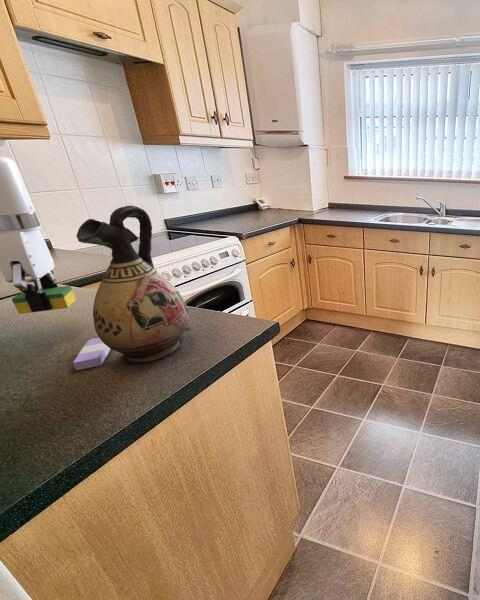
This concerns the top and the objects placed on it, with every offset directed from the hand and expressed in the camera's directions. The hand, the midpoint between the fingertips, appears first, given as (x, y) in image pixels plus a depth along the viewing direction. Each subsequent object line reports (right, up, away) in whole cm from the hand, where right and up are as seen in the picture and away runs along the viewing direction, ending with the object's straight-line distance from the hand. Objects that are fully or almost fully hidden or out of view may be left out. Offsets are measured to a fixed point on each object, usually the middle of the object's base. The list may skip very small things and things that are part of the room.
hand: (47, 304), depth 74 cm
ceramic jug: (+26, -10, -1) cm, 27 cm away
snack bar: (+14, -11, -4) cm, 18 cm away
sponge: (0, 0, 0) cm, 0 cm away
